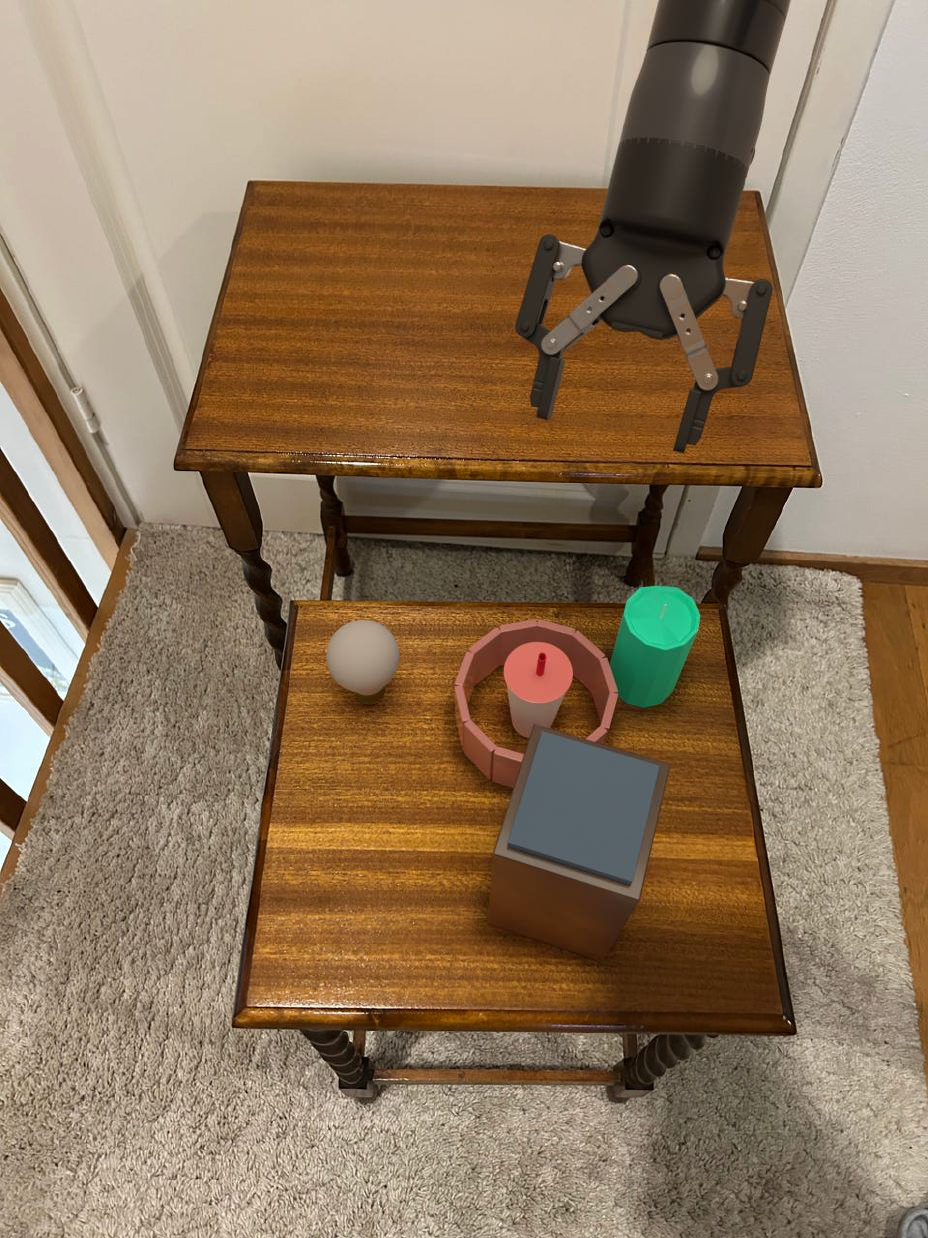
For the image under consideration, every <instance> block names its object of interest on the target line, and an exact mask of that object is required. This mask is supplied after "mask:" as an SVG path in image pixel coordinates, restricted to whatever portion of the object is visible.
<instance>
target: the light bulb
mask: <svg viewBox="0 0 928 1238" xmlns="http://www.w3.org/2000/svg"><path fill="white" fill-rule="evenodd" d="M325 658H326V665H327V668H328V671H329V673H330V675H331V677H332V679H333V680H334V681H335V682H336V683H337V684H338V685H339V686H341V687H342V688H344V689H345V690H347V691H350V692H353V693H354V694H355V697H356V699H357V700H358V701H359V702H360V703H362V704H365V705H374V704H377V703H379V702H380V701H381V700H382V699H383V698H384V697H385V695H386V686H387V685H388V684H389V683H390V682H391V681H392V680H393V678H394V677H395V676H396V674H397V671H398V669H399V665H400V660H401V659H400V658H401V654H400V648H399V643H398V642H397V640H396V637H395V636H394V635H393V633H392V632H391V631H390V630H389V628H387V627H385V626H384V625H383V624H381V623H379V622H376V621H374V620H369V619H358V620H353V621H350V622H348V623H345V624H344V625H342V626H341V627H340V628H338V630H337V631H335V632H334V634H333V635H332V637H330V640H329V642H328V645H327V647H326V657H325Z"/></svg>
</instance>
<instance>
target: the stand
mask: <svg viewBox="0 0 928 1238" xmlns="http://www.w3.org/2000/svg"><path fill="white" fill-rule="evenodd" d="M542 731H544V732H547V733H550V734H554V735H557V736H561V737H564V738H567V739H571V740H574V741H578V742H581V743H584V744H588V745H591V746H595V747H598V748H601V749H605V750H608V751H612V752H615V753H618V754H622V755H625V756H629V757H632V758H635V759H639V760H642V761H646V762H649V763H652V764H656V765H659V766H660V768H659V772H658V776H657V781H656V785H655V789H654V793H653V798H652V802H651V806H650V810H649V815H648V819H647V823H646V828H645V832H644V836H643V840H642V845H641V849H640V853H639V857H638V862H637V866H636V870H635V875H634V879H633V882H632V884H631V885H628V884H625V883H621V882H618V881H615V880H612V879H609V878H606V877H603V876H599V875H596V874H593V873H590V872H587V871H584V870H580V869H577V868H574V867H571V866H568V865H565V864H562V863H558V862H555V861H552V860H549V859H546V858H543V857H540V856H536V855H533V854H530V853H527V852H524V851H521V850H517V849H514V848H511V847H508V846H507V844H508V839H509V836H510V833H511V830H512V826H513V823H514V820H515V817H516V813H517V810H518V807H519V804H520V801H521V797H522V794H523V791H524V788H525V784H526V781H527V778H528V775H529V771H530V768H531V765H532V762H533V759H534V755H535V752H536V749H537V746H538V742H539V739H540V736H541V733H542ZM523 754H524V756H523V759H522V762H521V766H520V769H519V772H518V775H517V778H516V781H515V785H514V788H512V791H511V793H510V798H509V801H508V803H507V807H506V810H505V814H504V817H503V820H502V823H501V825H500V829H499V832H498V836H497V839H496V841H495V845H494V848H493V851H492V861H491V873H490V877H491V878H490V889H489V903H488V917H487V920H488V921H487V925H489V926H492V927H495V928H498V929H501V930H503V931H507V932H509V933H512V934H515V935H518V936H521V937H525V938H527V939H531V940H533V941H537V942H540V943H541V944H545V945H548V946H551V947H555V948H558V949H561V950H563V951H566V952H569V953H573V954H575V955H578V956H582V957H585V958H587V959H590V960H594V961H595V962H596V961H597V962H600V963H603V962H604V960H605V959H606V957H607V955H608V954H609V951H610V950H611V948H612V947H613V945H614V944H615V942H616V940H617V939H618V937H619V935H620V934H621V932H622V930H623V929H624V927H625V925H627V922H628V921H629V919H630V917H631V915H632V914H633V912H634V910H635V909H636V907H637V906H638V904H639V903H640V900H641V897H642V893H643V888H644V884H645V879H646V875H647V870H648V866H649V861H650V858H651V854H652V849H653V843H654V840H655V835H656V832H657V827H658V823H659V817H660V815H661V809H662V804H663V801H664V797H665V792H666V788H667V783H668V779H669V776H670V775H669V774H670V770H671V764H670V763H669V762H666V761H662V760H658V759H655V758H652V757H649V756H644V755H641V754H639V753H634V752H631V751H628V750H624V749H622V748H617V747H614V746H611V745H607V744H601V743H597V742H594V741H590V740H587V739H586V738H583V737H581V736H577V735H573V734H570V733H566V732H563V731H560V730H556V729H552V728H551V727H550V728H546V727H543V726H539V725H536V724H534V725H533V728H532V731H531V734H530V737H529V738H528V740H527V743H526V746H525V750H524V753H523Z"/></svg>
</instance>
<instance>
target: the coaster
mask: <svg viewBox="0 0 928 1238" xmlns="http://www.w3.org/2000/svg"><path fill="white" fill-rule="evenodd" d="M659 768H660V766H659V765H656V764H652V763H649V762H646V761H642V760H639V759H635V758H632V757H629V756H625V755H622V754H618V753H615V752H612V751H608V750H605V749H601V748H598V747H595V746H591V745H588V744H584V743H581V742H578V741H574V740H571V739H567V738H564V737H561V736H557V735H554V734H550V733H547V732H544V731H542V733H541V736H540V739H539V742H538V746H537V749H536V752H535V755H534V759H533V762H532V765H531V768H530V771H529V775H528V778H527V781H526V784H525V788H524V791H523V794H522V797H521V801H520V804H519V807H518V810H517V813H516V817H515V820H514V823H513V826H512V830H511V833H510V836H509V839H508V844H507V846H508V847H511V848H514V849H517V850H521V851H524V852H527V853H530V854H533V855H536V856H540V857H543V858H546V859H549V860H552V861H555V862H558V863H562V864H565V865H568V866H571V867H574V868H577V869H580V870H584V871H587V872H590V873H593V874H596V875H599V876H603V877H606V878H609V879H612V880H615V881H618V882H621V883H625V884H628V885H631V884H632V882H633V879H634V875H635V870H636V866H637V862H638V857H639V853H640V849H641V845H642V840H643V836H644V832H645V828H646V823H647V819H648V815H649V810H650V806H651V802H652V798H653V793H654V789H655V785H656V781H657V776H658V772H659Z"/></svg>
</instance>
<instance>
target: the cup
mask: <svg viewBox="0 0 928 1238" xmlns="http://www.w3.org/2000/svg"><path fill="white" fill-rule="evenodd" d="M503 677H504V680H505V683H506V689H507V696H508V697H507V698H508V704H509V711H510V717H511V723H512V726H513V729H514V730H515V731H516V733H517V734H518V735H520V736H522V737H524V738H527V739H529V737H530V734H531V731H532V728H533V725H534V724H536V725H539V726H543V727H546V728H550V729H551V727H552V725H553V723H554V721H555V719H556V716H557V715H558V711H559V710H560V707H561V705H562V702H563V700H564V698H565V695H566V692H568V690H569V689H570V687H571V685H572V682H573V677H574V676H573V669H572V665H571V663H570V660H569V659H568V657H567V656H566V655H565V654H564V652H562V651H561V650H560V649H559V648H557V647H555V646H553V645H551V644H548V643H543V642H531V643H526V644H523V645H521V646H519V647H517V648H516V649H515V650H513V651H512V652H511V654H510V655H509V656H508V658H507V660H506V662H505V665H503Z"/></svg>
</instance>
